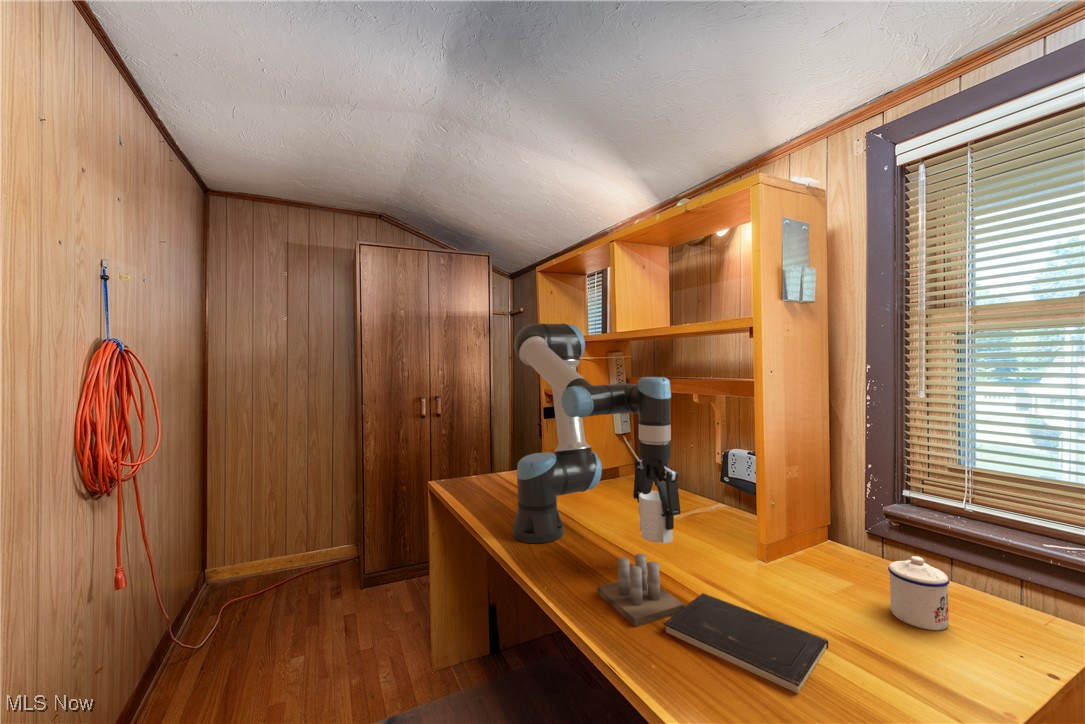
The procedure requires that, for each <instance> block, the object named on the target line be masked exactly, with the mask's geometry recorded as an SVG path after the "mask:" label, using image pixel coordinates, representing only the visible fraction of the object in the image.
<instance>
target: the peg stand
mask: <svg viewBox="0 0 1085 724" xmlns="http://www.w3.org/2000/svg"><path fill="white" fill-rule="evenodd" d="M617 568H618V569H617V571H618V573H617V576H618V581H615V582H611V583H607V584H602V585H599V586H597V594H598V595H599V596H600V597H601V598H602V599H603V600H605V602H606V603H608V604H609V605H610V606H611V607H612V608H613V609H614V610H616V611H617V612H618V613H619V614H620V615H621V616H622V617H623V618H625V619H626V620H627V621H628V622H629V623H630V624H631V625H632V626H634V627H635V628H637V627H640V626H644V625H646V624H649V623H652V622H655V621H659V620H662V619H666V618H669V617H672V616H674V615H675V614H676V613H678V612H679V611H680V610H681V609H683V608H684V607H685V603H683V602H681V600H679V599H678V598H676V597H675V596H673V595H672V594H670V593H668V592H667V591H666V590H664V589H663V588H662V587H661V585H660V584H661V583H660V581H661V580H660V563H659V562H656V561H648V562H647V555H646V554H644V553H636V554H635V555H634V565H630V559H629V558H627V557H619V558H617Z"/></svg>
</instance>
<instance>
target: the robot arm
mask: <svg viewBox="0 0 1085 724" xmlns="http://www.w3.org/2000/svg"><path fill="white" fill-rule="evenodd" d="M583 334H584V333H582V331H581V329H580V328H578V326H576V325H574V324H568V323H564V322H563V323H537V322H536V323H531V324H527V325H525V326H523V327H522V329H520V330H519V331H518V333H517V334H516V336H515V338H514V342H513V343H514V344H513V348H514V351H515V355H516V356H517V358H518V359H519V360H520V361H521V362H522V363H523V364H525V365H526V366H531V367H532V369H534V370H535V371H536V372H537V373H538V375H540V376H541V377H542V378H543V379H544V380H545V381H546V382H547V383H548V384H549V385H550V387H551V390H552V400H553V401H552V402H553V409H554V415H555V416H554V417H555V425H556V426H555V427H556V433H557V441H558V445H557V447H556V448H555V449H554V453H552V452H545V451H544V452H536V453H531V454H528V455H525V456H523V457H522V458H521V459H519V461H518V463H517V468H516V469H517V470H516V477H517V478H516V479H517V481H516V482H517V512H516V516H515V517H514V518H515V519H514V522H513V526H512V536H513V538H514V539H515V540H516V541H520V542H523V543H526V544H527V543H528V544H546V543H551V542H554V541H557V540H559V539H561V538H562V537H563V536H564V524H563V521H562V518H561V516H560V513H559V510H558V505H557V504H558V497H559V496H564V495H570V494H575V493H579V492H581V493H584V492H587V491H590V490H592V489H595V488H596V487H597V486H598V485H599V483H600V482H601V481H600V480H601V478H602V472H603V470H602V467H603V466H602V462H601V459H600V458H599V456H598V454H597V453H596V452H594V451H592V446H591V445H590V444H589V443H588V442H587V441H586V435H585V428H584V419H583V418H587V417H594V416H595V417H596V416H604V415H605V416H606V415H616V414H617V415H619V414H633V415H638V439H639V441H640V442H638V456H639V458H640V459H637V460H634V470H635V471H634V481H633V492H632V493H633V494H632V497H633V499H634V500H637V503H638V504H639V494H640V493H643V494H649V493H650V492H651V491H652V489H653V485H654V486H656V488H657V491H658V493H659V497H660V501H662V504H661V505H662V509H663V513H664V514H661V542H660V543H661V544H664V545H665V544H669V543H673V541H674V540H673V539H674V538H673V536H674V533H673V530H674V528H675V526H674V521H675V520H674V516H678V515H680V514H681V513H682V512H681V505H680V504H681V503H680V495H679V485H678V479H679V472H678V471H677V470H671V468H670V466H669V460H670V459H671V458H672V444H671V442H670V441H671V440H672V436H671V435H672V428H671V427H672V425H671V424H672V421H671V419H672V418H671V417H672V414H671V413H672V412H671V411H672V410H671V409H672V408H671V407H672V406H671V404H672V403H671V402H672V392H671V391H672V390H671V381H670V380H669V378H667V377H664V376H663V377H662V376H658V377H657V376H656V377H655V376H650V377H647V376H646V377H640V378H639V379H638V384H636V383H627V382H615V383H612V384H600V385H599V384H598V385H597V384H595V385H594V384H592V383H590V382H589V381H588V380H587V379H585V378H584V377H583V376H582V375H581V374H580V373H579V372H577V367H578V366H579V364H581V363H580V362H581V361H580V358H582V357H583V355H584V353H585V349H586V342H585V337H584V335H583ZM638 512H639V515H640V509H639V508H638ZM639 531H641V532H642V530H641V524H640V523H639Z"/></svg>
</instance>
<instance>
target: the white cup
mask: <svg viewBox="0 0 1085 724" xmlns="http://www.w3.org/2000/svg"><path fill="white" fill-rule="evenodd" d="M661 504H662V501H660V497H659V493H658V490H657V491H656V490H651V492H650V493H649V494H643V493H640V494H639V503H638V506H639V507H638V510H639V509H640V514H639V525H640V524H641V530H642V531H641V530H640V531H641V538H643V539H644V540H646V541H648V542H652V543H661V514H664V513H663V509H662V505H661Z"/></svg>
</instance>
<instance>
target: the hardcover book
mask: <svg viewBox="0 0 1085 724" xmlns="http://www.w3.org/2000/svg"><path fill="white" fill-rule="evenodd" d="M662 624H663V626H665V633H667V634H669V635H671V636H674V637H675V638H678V639H680V640H682V641H684V642H686V643H689V644H691V645H692V646H695V647H696V648H699V649H701V650H703V651H706V652H707V653H710V654H712V655H714V656H717V657H718V658H720V659H723V660H725V661H727V662H729V663H731V664H733V665H736V667H737V666H738V667H739V668H742V669H744V670H746V671H748V672H749V673H752V674H755V675H757V676H759V677H761V678H763V679H766V680H767V681H770V682H771V683H774V684H776V685H778V686H780V687H783V688H785V689H787V690H789V691H791V692H793V693H796V694H799V693H800V691H801V690H802V688H803V686H804V684H805V683H806V682H807V680H808V678H809V677H810V676H811V673H812V672H813V671H814V669H815V667H816V666H817V664H818V662H819V661H820V659H821V658H822V656H823V655H824V653H825V651H826V650H827V649H829V640H828V639H827V638H825V637H823V636H819V635H817V634H814V633H812V632H809V631H806V630H804V629H800V628H798V627H795V626H793V625H789V624H787V623H784V622H782V621H779V620H776V619H774V618H772V617H768V616H765V615H763V614H761V613H759V612H755V611H752V610H749V609H746V608H745V607H741V606H739V605H736V604H734V603H731V602H728V601H725V600H722V599H720V598H717V597H714V596H712V595H709V594H706V593H704V592H702V593H701V594H699V595H698V596H696V598H695V599H693V600H691V602H689V603H688V604H687V605H684V608H683V609H681V610H680V611H679V612H678V613H676V614H675V615H672V616H670V618H668V619H667V620H666V621H665V622H664V623H662Z"/></svg>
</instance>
